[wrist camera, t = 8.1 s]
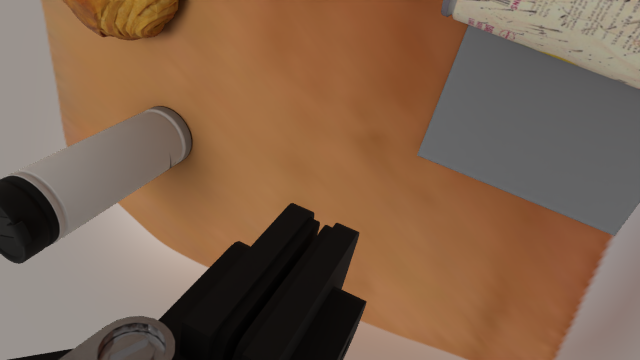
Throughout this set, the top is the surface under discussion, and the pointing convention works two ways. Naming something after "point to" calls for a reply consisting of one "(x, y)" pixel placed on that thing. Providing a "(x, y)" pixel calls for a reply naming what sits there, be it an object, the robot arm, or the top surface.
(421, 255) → the top surface
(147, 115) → the travel mug
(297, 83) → the top surface
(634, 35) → the aerosol can
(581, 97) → the mat
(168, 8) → the croissant
